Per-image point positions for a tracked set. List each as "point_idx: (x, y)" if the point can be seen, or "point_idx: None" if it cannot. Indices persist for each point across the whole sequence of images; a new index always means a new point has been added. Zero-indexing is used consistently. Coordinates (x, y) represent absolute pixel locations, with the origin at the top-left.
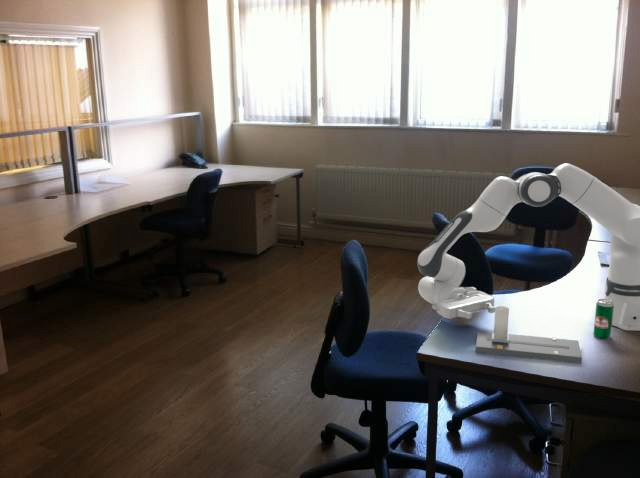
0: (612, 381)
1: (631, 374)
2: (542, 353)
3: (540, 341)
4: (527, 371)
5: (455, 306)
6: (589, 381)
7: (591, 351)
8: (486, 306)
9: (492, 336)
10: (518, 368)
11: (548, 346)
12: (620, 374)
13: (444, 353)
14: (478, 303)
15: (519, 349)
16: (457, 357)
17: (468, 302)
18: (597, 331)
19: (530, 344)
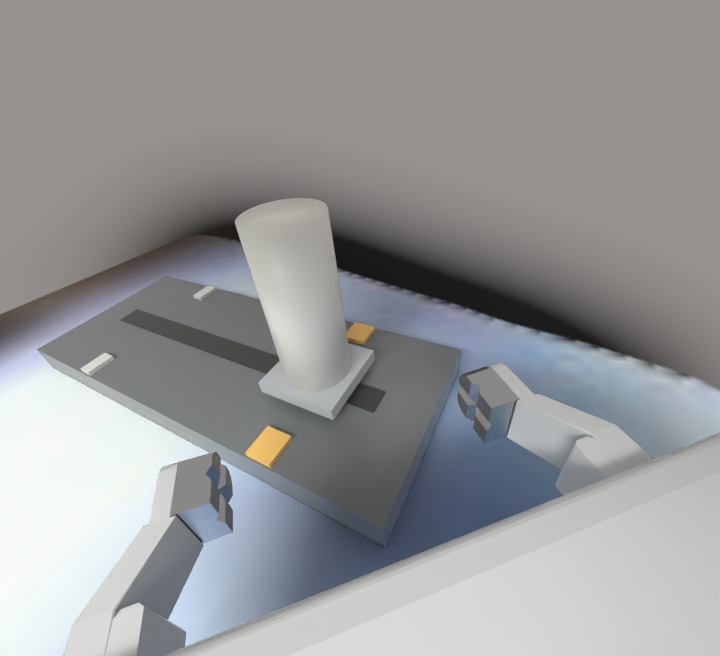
0: (196, 247)
1: (131, 261)
2: (244, 296)
3: (165, 357)
4: (338, 275)
5: (707, 476)
6: (238, 248)
7: None
8: (164, 624)
9: (356, 371)
10: (353, 286)
11: (182, 323)
12: (151, 261)
13: (613, 381)
14: (275, 614)
15: None
16: (545, 347)
17: (465, 629)
18: None
19: (227, 339)
